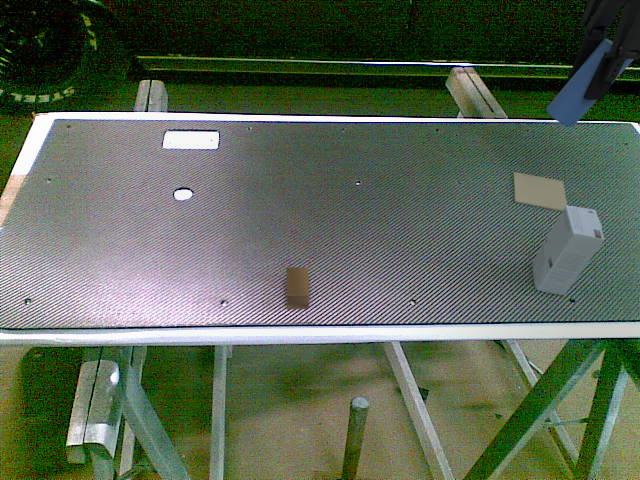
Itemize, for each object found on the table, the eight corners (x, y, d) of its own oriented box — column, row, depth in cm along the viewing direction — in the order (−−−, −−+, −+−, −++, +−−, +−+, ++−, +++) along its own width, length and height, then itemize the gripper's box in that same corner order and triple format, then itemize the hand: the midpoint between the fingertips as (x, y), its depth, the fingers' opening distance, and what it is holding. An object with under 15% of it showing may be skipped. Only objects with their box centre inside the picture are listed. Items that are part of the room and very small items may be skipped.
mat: (567, 213, 83) (568, 211, 82) (514, 202, 84) (515, 200, 84) (562, 182, 89) (563, 181, 89) (513, 173, 90) (513, 171, 90)
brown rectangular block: (307, 281, 68) (308, 267, 66) (308, 309, 65) (309, 295, 63) (286, 281, 68) (286, 267, 66) (286, 309, 65) (286, 295, 63)
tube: (610, 39, 70) (600, 37, 67) (638, 58, 68) (630, 57, 65) (552, 107, 78) (541, 108, 74) (576, 126, 76) (566, 128, 73)
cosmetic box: (530, 262, 74) (562, 202, 65) (560, 267, 73) (596, 208, 65) (535, 292, 69) (570, 232, 61) (567, 298, 69) (606, 238, 60)
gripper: (605, -112, 62) (537, 62, 78) (689, -81, 49) (587, 120, 65) (659, -109, 62) (581, 63, 79) (756, -77, 49) (639, 121, 66)
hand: (584, 89), depth 72 cm, fingers closed on tube, 5 cm apart
